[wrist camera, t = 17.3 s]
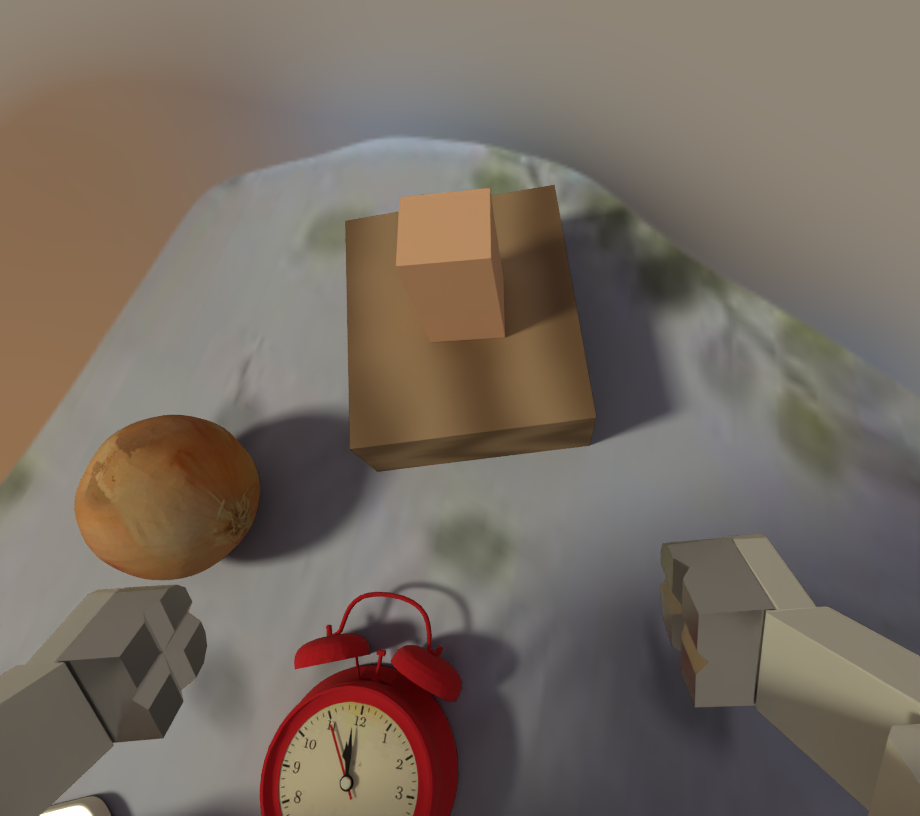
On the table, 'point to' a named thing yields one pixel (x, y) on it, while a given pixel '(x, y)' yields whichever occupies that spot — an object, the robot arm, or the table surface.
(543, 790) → the table surface
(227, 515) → the onion
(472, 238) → the terracotta block
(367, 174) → the table surface
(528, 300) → the walnut box
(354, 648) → the alarm clock
